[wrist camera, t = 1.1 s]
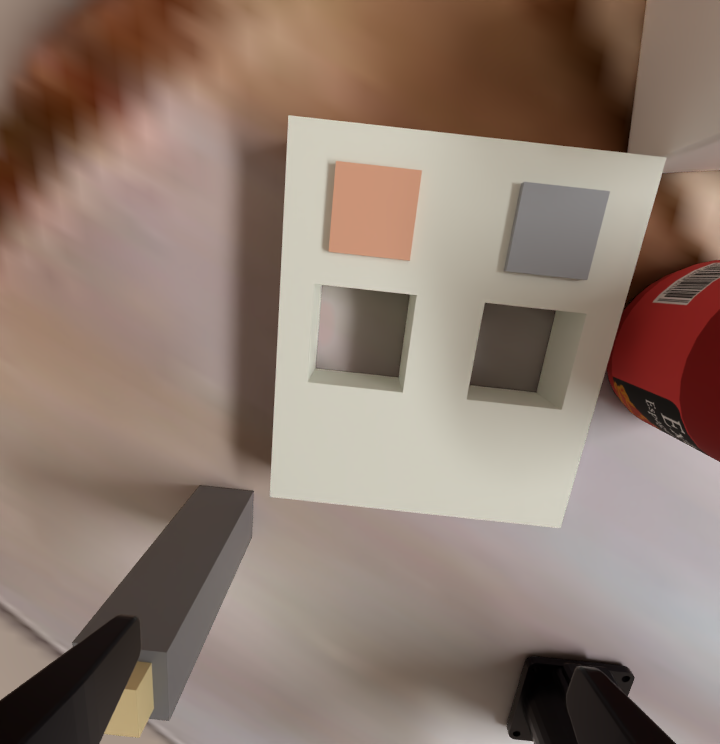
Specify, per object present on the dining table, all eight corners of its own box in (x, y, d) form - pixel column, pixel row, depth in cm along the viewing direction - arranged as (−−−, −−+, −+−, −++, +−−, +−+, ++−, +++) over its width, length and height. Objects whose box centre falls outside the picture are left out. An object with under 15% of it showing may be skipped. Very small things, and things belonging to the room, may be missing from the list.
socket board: (537, 497, 20) (563, 532, 17) (281, 470, 20) (268, 500, 17) (621, 175, 16) (673, 154, 13) (300, 140, 16) (286, 111, 13)
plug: (252, 536, 21) (155, 750, 12) (199, 531, 21) (61, 740, 12) (253, 491, 20) (152, 679, 11) (199, 485, 20) (50, 668, 11)
